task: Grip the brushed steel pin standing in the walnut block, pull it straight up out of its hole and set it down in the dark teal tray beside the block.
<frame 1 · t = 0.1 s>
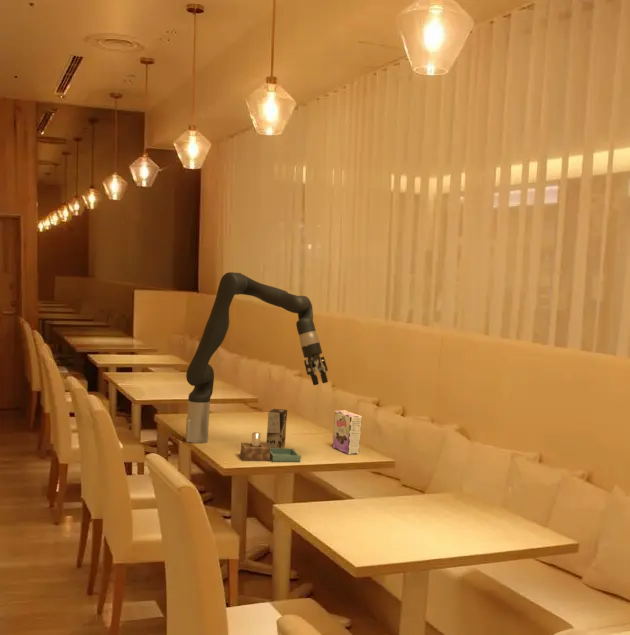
hand: (320, 383, 309), 31 cm above the table, tool tilted 20°, fingers open, 8 cm apart
steel pin: (255, 445, 311), in the pin block
pin block: (254, 458, 311), on the table
candy box: (345, 451, 336), on the table
tray: (283, 458, 314), on the table
coffee box: (275, 448, 332), on the table
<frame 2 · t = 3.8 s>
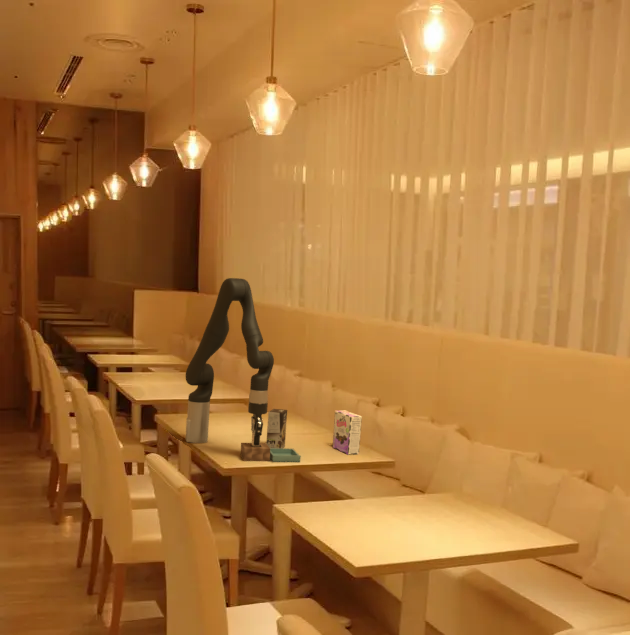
hand: (255, 444, 311), 6 cm above the table, tool pointing down, fingers closed on steel pin, 3 cm apart
steel pin: (255, 445, 311), in the pin block, touching gripper
everything else where it was.
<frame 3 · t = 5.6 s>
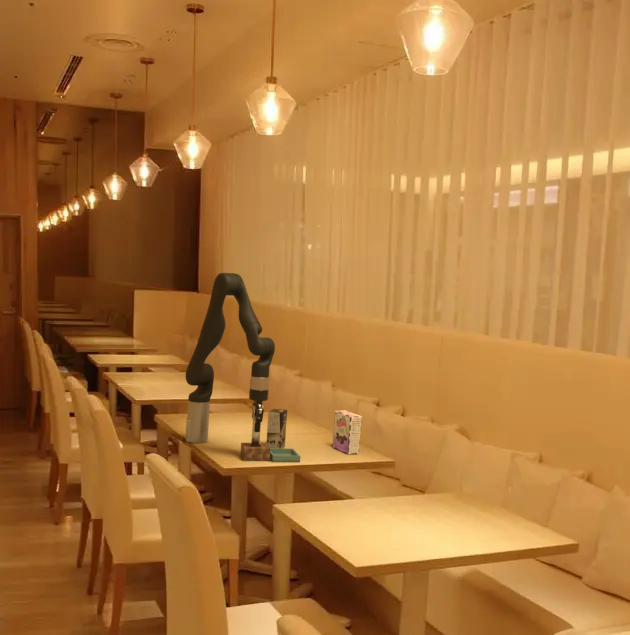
hand: (256, 430, 311), 11 cm above the table, tool pointing down, fingers closed on steel pin, 3 cm apart
steel pin: (256, 432, 311), point 10 cm above the table, touching gripper
everything else where it was.
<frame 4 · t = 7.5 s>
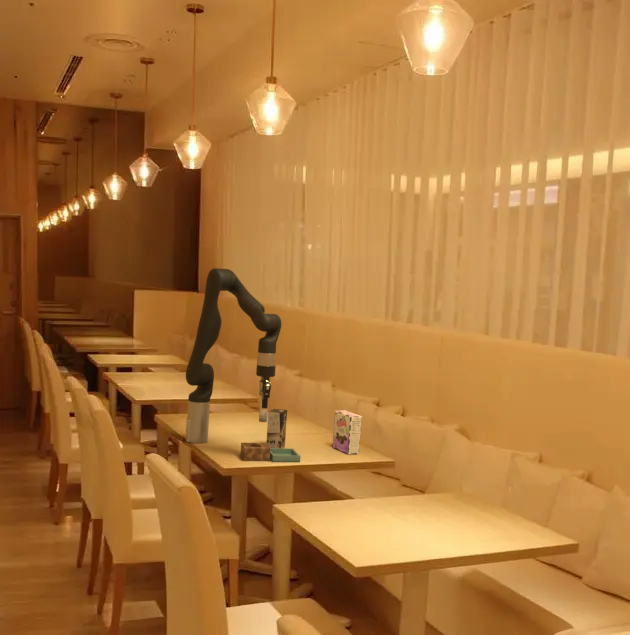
hand: (263, 407, 311), 20 cm above the table, tool pointing down, fingers closed on steel pin, 3 cm apart
steel pin: (263, 408, 311), point 20 cm above the table, touching gripper
everything else where it was.
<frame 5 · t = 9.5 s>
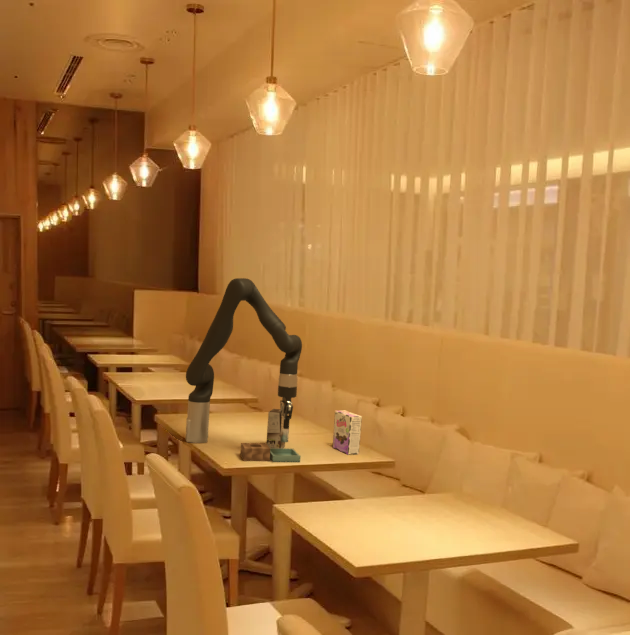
hand: (285, 427, 314), 12 cm above the table, tool pointing down, fingers closed on steel pin, 3 cm apart
steel pin: (285, 429, 314), point 12 cm above the table, touching gripper
everything else where it was.
when the fingers open (8 cm above the table, at t = 11.1 s): steel pin drops 1 cm, resting on tray.
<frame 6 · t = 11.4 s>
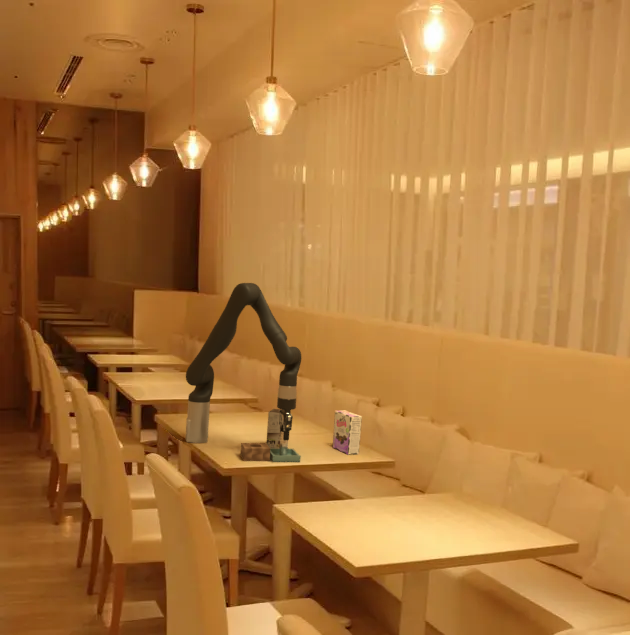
hand: (284, 438, 314), 8 cm above the table, tool pointing down, fingers open, 6 cm apart
steel pin: (283, 444, 314), in the tray, point 6 cm above the table
everything else where it was.
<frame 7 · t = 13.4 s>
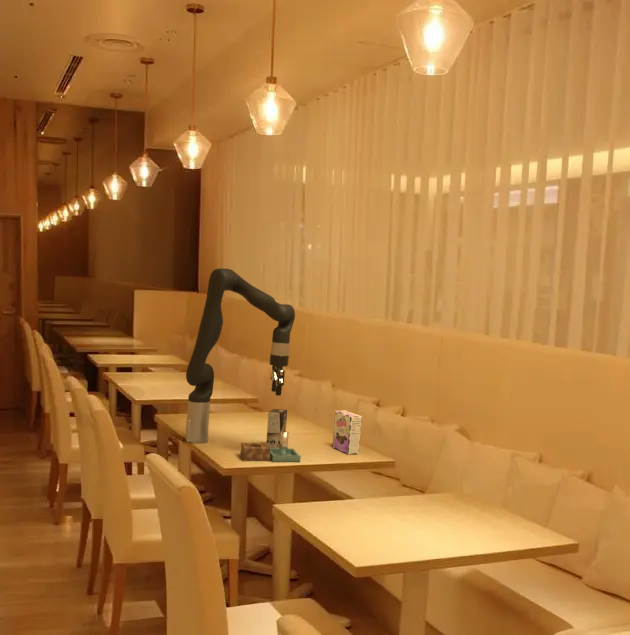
hand: (276, 393, 317), 25 cm above the table, tool pointing down, fingers open, 8 cm apart
nothing on the table moved.
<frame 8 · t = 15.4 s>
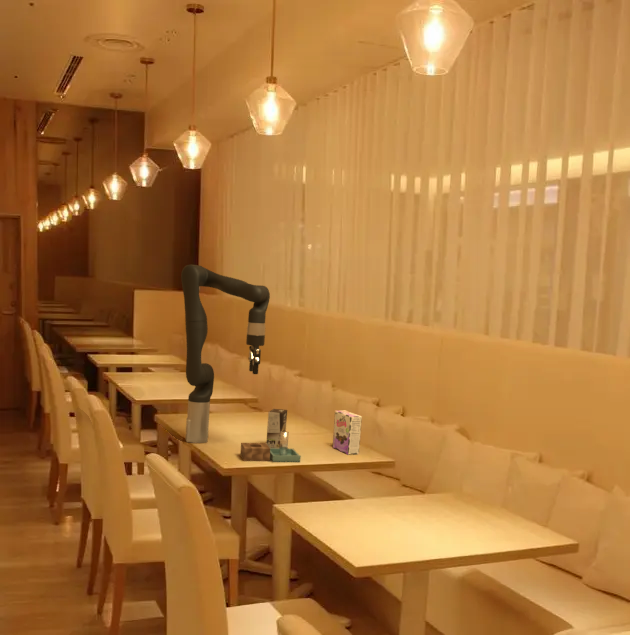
hand: (253, 372, 324), 32 cm above the table, tool pointing down, fingers open, 8 cm apart
nothing on the table moved.
at the end: steel pin inside the target area on the tray (0.0 cm from its centre), point 5.6 cm above the tray's base; the gripper is holding nothing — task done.
